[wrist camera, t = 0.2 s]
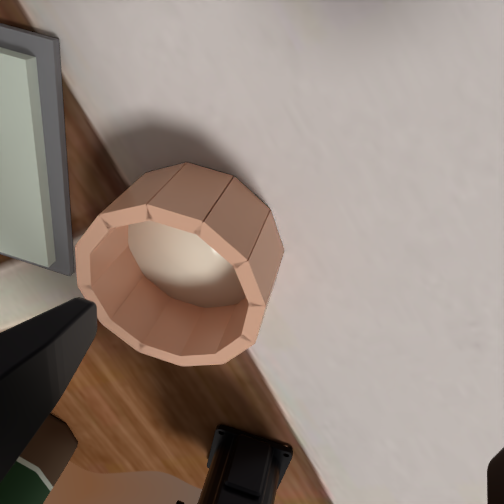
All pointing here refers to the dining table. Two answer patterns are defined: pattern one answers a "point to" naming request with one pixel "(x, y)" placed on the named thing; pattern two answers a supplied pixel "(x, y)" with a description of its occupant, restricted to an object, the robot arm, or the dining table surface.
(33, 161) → the cover sheet
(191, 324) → the bowl
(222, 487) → the robot arm
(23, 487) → the beer bottle
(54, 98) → the mat
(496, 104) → the dining table surface
